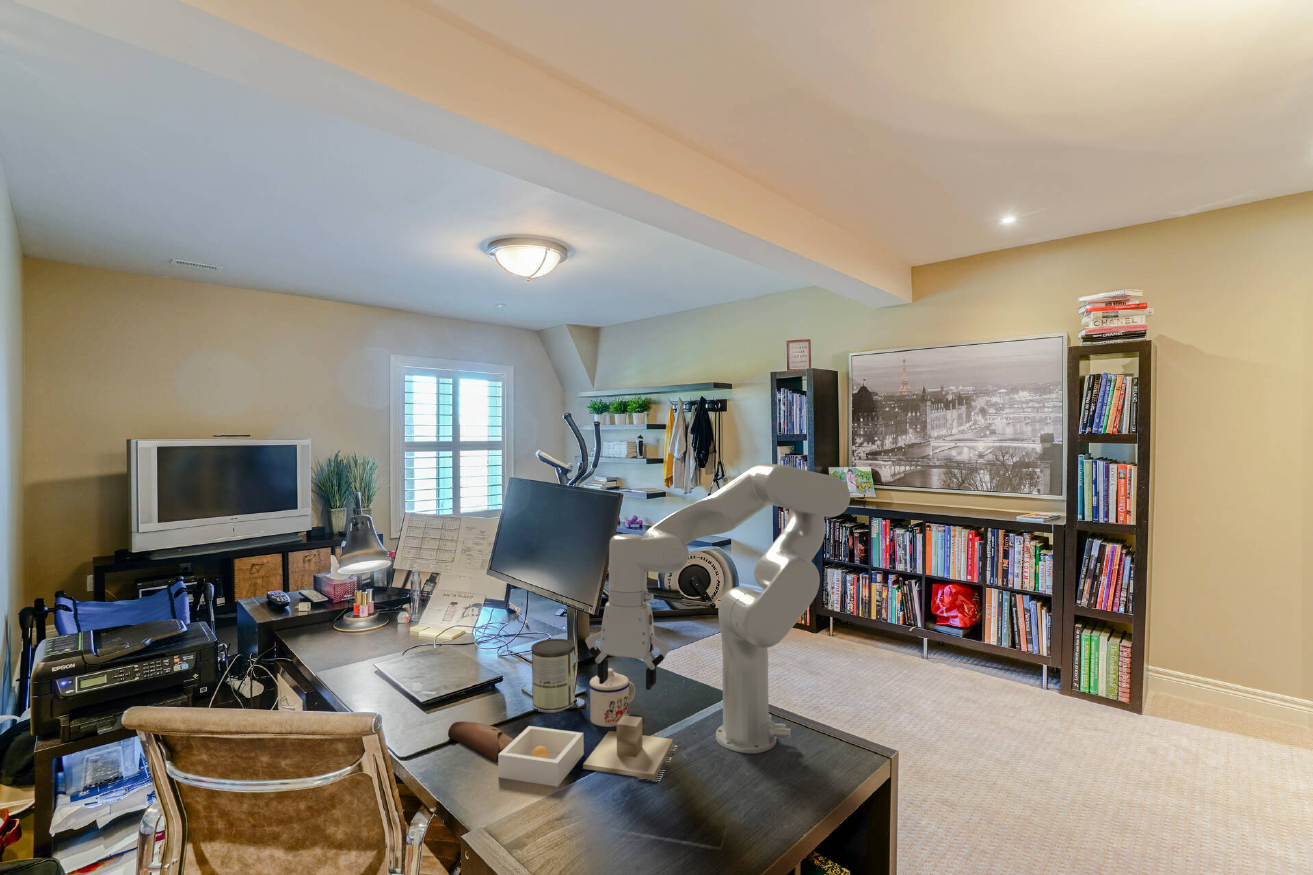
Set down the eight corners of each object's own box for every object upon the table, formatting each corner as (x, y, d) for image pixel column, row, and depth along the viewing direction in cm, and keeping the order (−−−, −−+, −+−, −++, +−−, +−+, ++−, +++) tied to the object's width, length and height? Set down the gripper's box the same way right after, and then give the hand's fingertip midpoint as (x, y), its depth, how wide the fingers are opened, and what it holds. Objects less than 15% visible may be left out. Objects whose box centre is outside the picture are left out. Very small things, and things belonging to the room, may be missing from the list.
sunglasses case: (532, 749, 127) (518, 727, 125) (507, 779, 123) (492, 757, 120) (481, 724, 139) (467, 703, 136) (457, 751, 134) (442, 730, 132)
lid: (673, 744, 128) (672, 709, 128) (653, 780, 115) (653, 741, 115) (609, 736, 132) (608, 702, 132) (583, 770, 118) (582, 732, 118)
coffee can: (527, 699, 152) (526, 642, 152) (567, 692, 156) (567, 636, 157) (538, 716, 143) (537, 655, 143) (581, 707, 147) (580, 648, 147)
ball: (550, 759, 122) (550, 743, 122) (543, 766, 119) (543, 751, 119) (536, 757, 123) (536, 741, 123) (529, 764, 120) (529, 749, 120)
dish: (583, 758, 124) (583, 732, 124) (557, 790, 112) (557, 762, 112) (529, 750, 127) (528, 725, 127) (498, 781, 116) (498, 754, 116)
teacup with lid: (607, 734, 134) (606, 680, 134) (581, 721, 140) (580, 669, 140) (647, 717, 142) (647, 665, 142) (621, 705, 148) (621, 656, 149)
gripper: (674, 596, 125) (673, 682, 124) (593, 590, 129) (592, 672, 129) (664, 605, 117) (663, 697, 117) (579, 598, 122) (578, 686, 122)
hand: (626, 684), depth 123 cm, fingers open, 9 cm apart
